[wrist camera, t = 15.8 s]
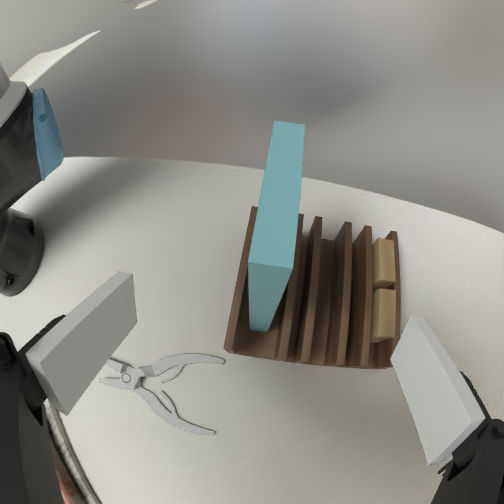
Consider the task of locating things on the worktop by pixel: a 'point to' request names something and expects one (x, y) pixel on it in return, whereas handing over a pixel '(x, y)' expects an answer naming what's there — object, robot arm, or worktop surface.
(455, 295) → the worktop surface
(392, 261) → the offcut
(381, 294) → the offcut
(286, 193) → the tall board
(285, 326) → the rack
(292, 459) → the worktop surface
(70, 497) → the packaged product
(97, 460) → the worktop surface
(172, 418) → the pliers
